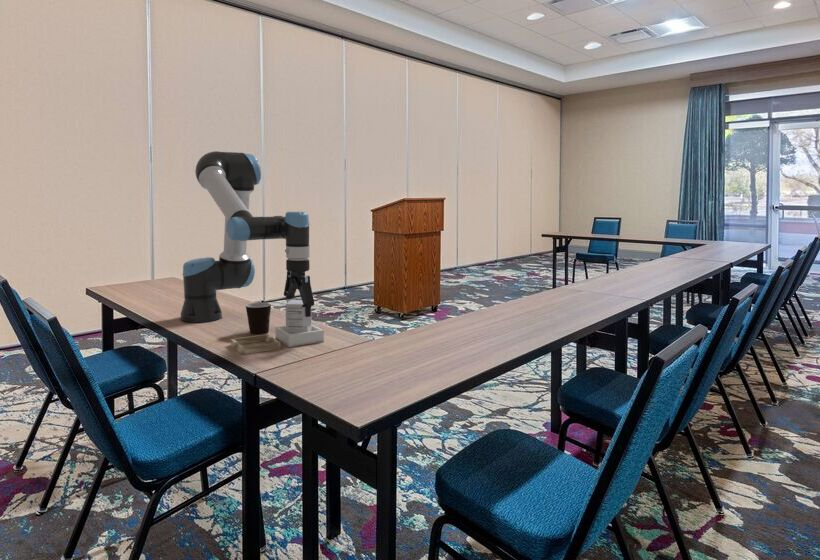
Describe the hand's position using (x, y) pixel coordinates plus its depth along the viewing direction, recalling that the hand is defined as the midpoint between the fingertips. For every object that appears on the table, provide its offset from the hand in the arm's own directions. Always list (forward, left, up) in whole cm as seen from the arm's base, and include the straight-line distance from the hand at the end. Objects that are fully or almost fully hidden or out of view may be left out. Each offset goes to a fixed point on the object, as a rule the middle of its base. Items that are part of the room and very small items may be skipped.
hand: (298, 321), depth 180 cm
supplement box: (0, 0, -6) cm, 6 cm away
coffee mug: (-18, -7, -7) cm, 20 cm away
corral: (0, -15, -6) cm, 16 cm away
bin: (0, 0, -6) cm, 6 cm away
